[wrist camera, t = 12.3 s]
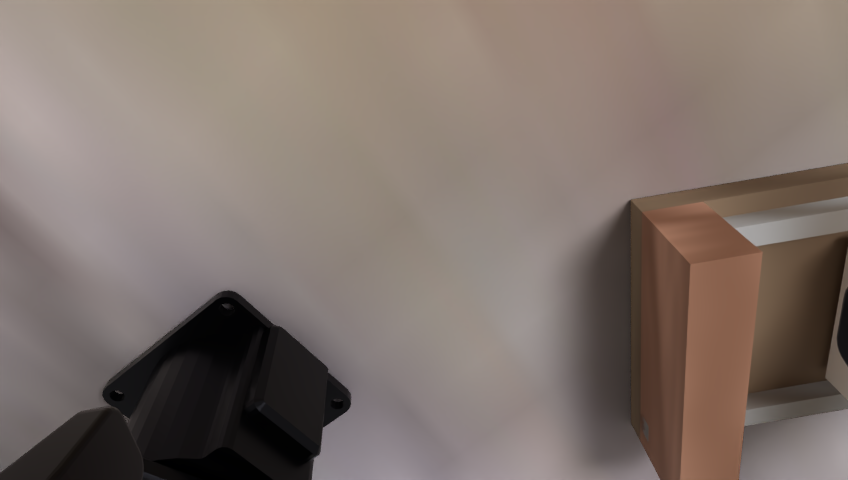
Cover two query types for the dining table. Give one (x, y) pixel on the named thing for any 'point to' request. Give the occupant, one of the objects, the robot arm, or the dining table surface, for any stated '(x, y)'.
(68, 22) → the dining table surface
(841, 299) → the carriage
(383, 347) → the dining table surface
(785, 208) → the track
